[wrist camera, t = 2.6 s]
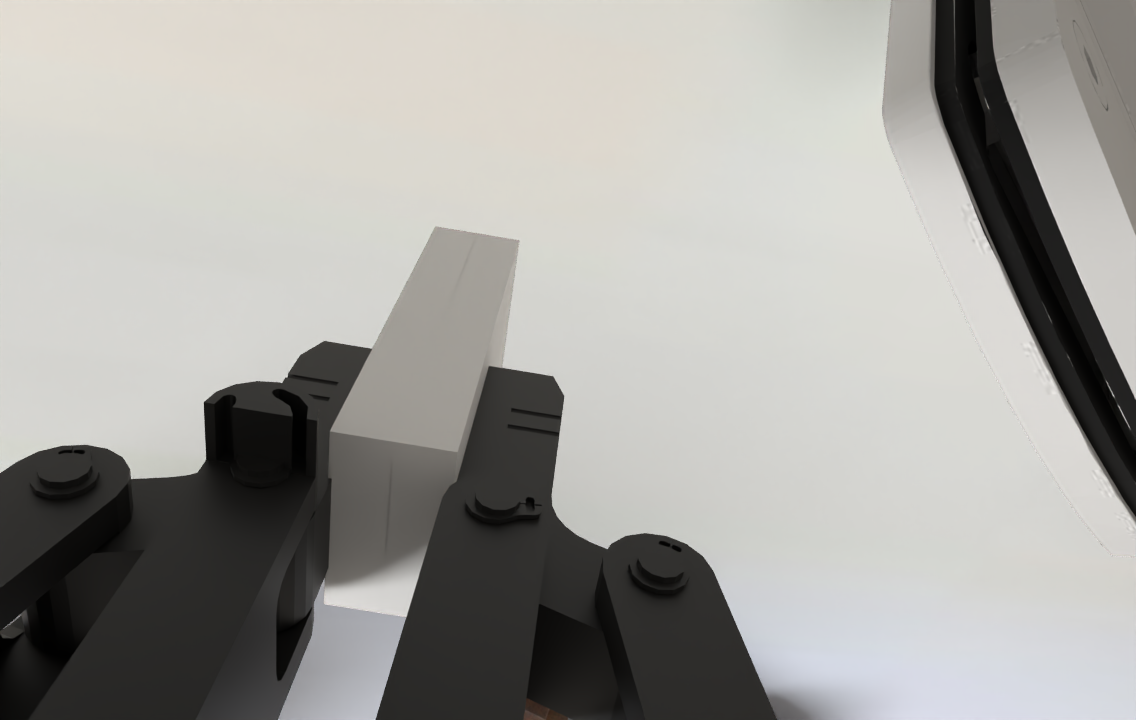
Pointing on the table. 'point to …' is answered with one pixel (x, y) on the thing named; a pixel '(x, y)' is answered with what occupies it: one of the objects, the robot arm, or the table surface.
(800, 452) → the table surface
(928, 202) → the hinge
